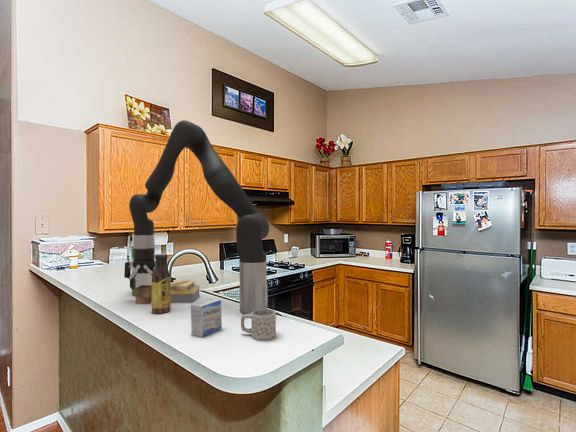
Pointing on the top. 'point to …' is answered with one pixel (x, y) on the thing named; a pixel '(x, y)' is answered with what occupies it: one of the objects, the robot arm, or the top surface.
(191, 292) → the yellow and gray block
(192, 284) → the pallet
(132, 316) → the top surface
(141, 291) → the crate
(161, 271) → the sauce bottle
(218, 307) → the medicine box
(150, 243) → the robot arm
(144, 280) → the wine bottle
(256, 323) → the mug
